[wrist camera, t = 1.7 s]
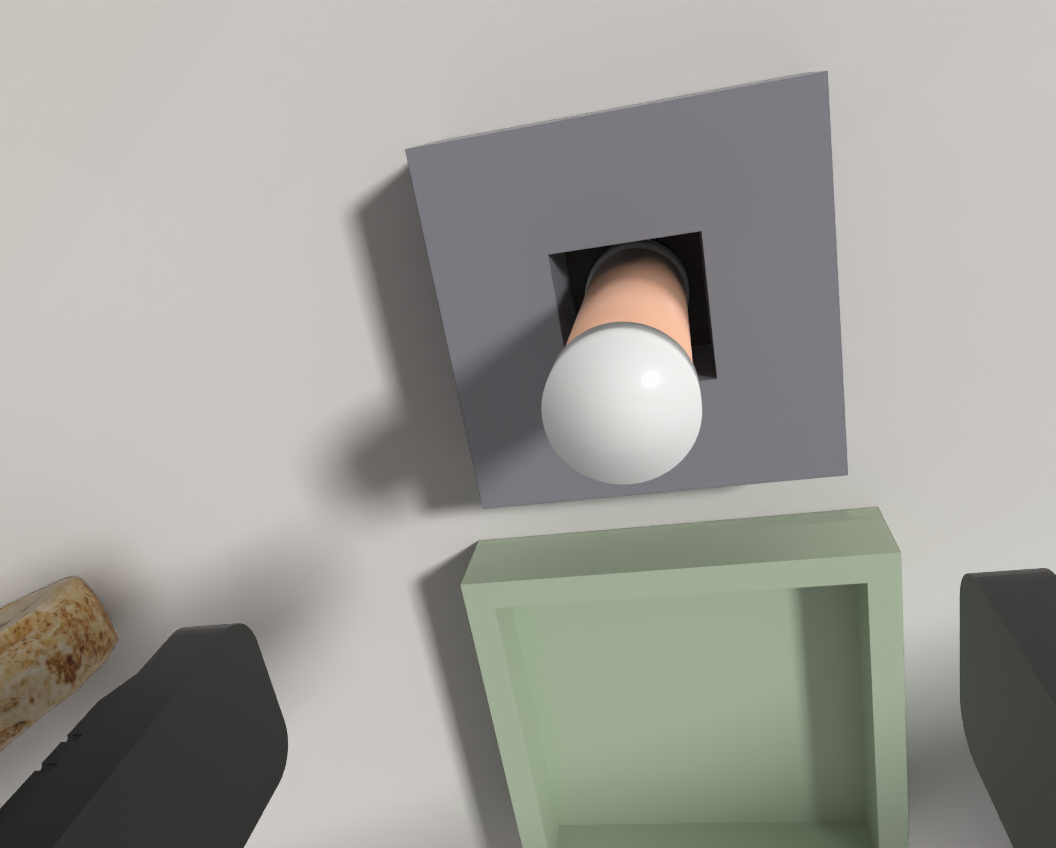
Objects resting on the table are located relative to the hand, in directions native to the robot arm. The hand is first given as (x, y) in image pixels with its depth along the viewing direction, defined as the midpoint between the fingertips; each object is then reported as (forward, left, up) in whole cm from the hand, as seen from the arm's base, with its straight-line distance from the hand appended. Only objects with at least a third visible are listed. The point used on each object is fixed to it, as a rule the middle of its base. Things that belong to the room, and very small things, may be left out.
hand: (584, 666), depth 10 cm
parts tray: (0, +16, -19) cm, 25 cm away
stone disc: (+26, +11, -19) cm, 34 cm away
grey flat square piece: (0, 0, -19) cm, 19 cm away
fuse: (0, 0, -19) cm, 19 cm away
